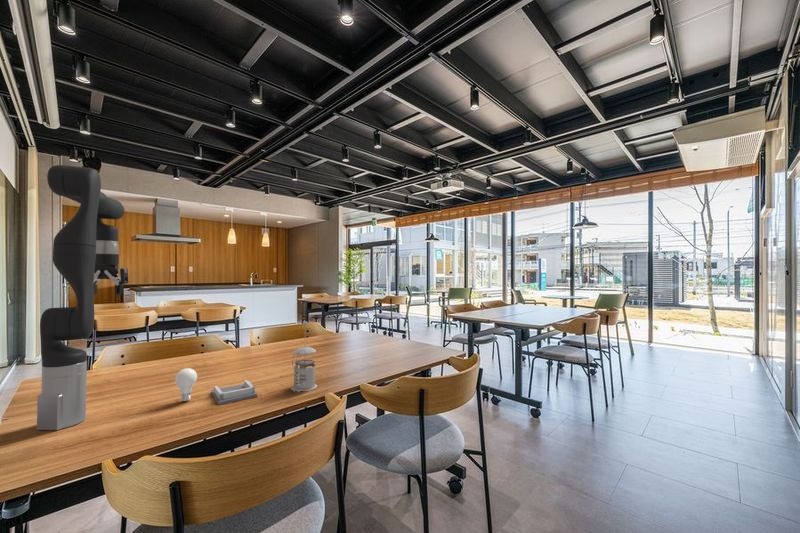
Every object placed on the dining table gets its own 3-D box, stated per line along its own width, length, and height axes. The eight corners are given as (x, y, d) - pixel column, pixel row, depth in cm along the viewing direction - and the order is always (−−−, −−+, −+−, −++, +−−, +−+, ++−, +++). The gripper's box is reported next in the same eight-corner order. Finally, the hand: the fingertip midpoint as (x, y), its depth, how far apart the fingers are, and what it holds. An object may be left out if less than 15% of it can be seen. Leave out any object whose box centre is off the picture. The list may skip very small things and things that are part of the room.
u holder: (257, 396, 119) (257, 388, 119) (219, 405, 112) (219, 395, 112) (246, 386, 130) (246, 378, 130) (211, 392, 123) (211, 384, 123)
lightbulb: (189, 405, 111) (189, 371, 112) (170, 404, 112) (170, 371, 112) (200, 397, 118) (201, 366, 118) (182, 397, 118) (183, 365, 118)
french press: (301, 394, 122) (302, 324, 122) (282, 387, 129) (283, 321, 129) (323, 386, 130) (324, 321, 130) (304, 380, 137) (304, 318, 137)
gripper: (77, 252, 126) (77, 295, 126) (119, 253, 128) (119, 296, 128) (93, 252, 133) (93, 293, 134) (132, 253, 135) (132, 293, 136)
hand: (106, 294), depth 131 cm, fingers open, 8 cm apart
